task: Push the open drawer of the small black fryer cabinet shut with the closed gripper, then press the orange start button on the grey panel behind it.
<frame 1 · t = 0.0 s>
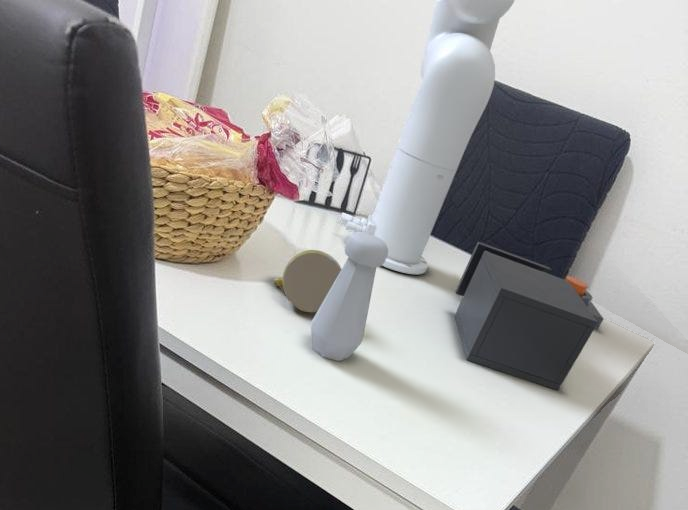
salt shaker: (329, 352, 78), on the table
start button: (574, 286, 120), point 4 cm above the table, slide at 0.1 cm
fryer: (503, 351, 96), on the table
mug: (302, 301, 87), on the table
fryer drawer: (506, 290, 102), point 5 cm above the table, slide at 7.0 cm
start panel: (561, 310, 122), on the table
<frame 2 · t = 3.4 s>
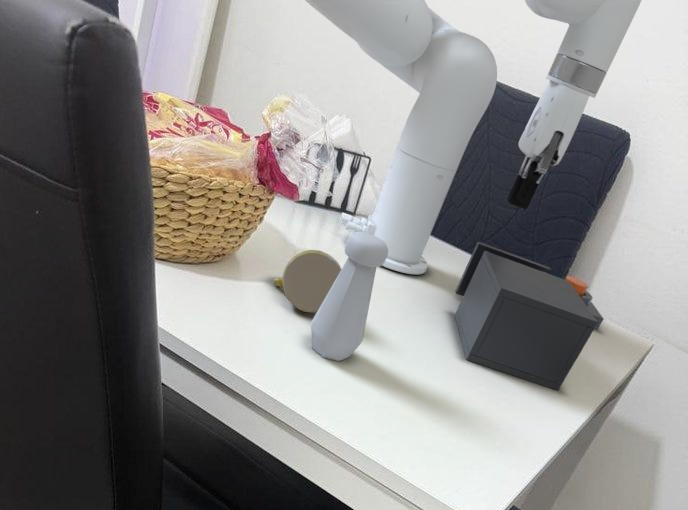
hand: (516, 204, 111), 13 cm above the table, tool pointing down, fingers closed
nothing on the table moved.
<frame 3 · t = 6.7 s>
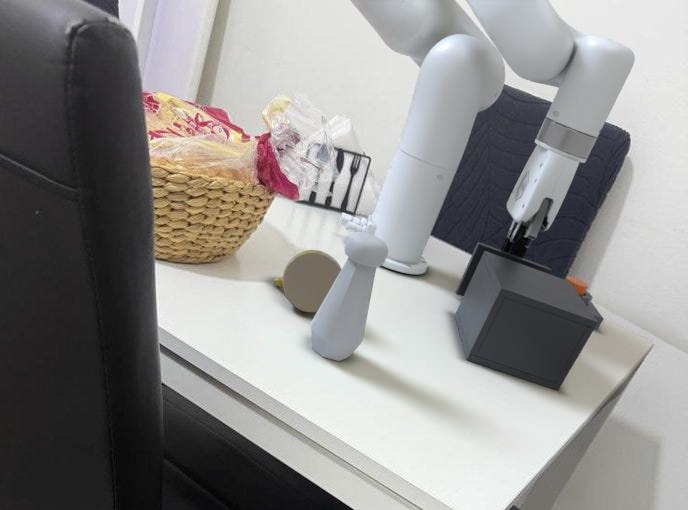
hand: (505, 267, 107), 6 cm above the table, tool pointing down, fingers closed
fryer drawer: (507, 290, 102), point 5 cm above the table, slide at 6.8 cm, touching gripper
everything else where it was.
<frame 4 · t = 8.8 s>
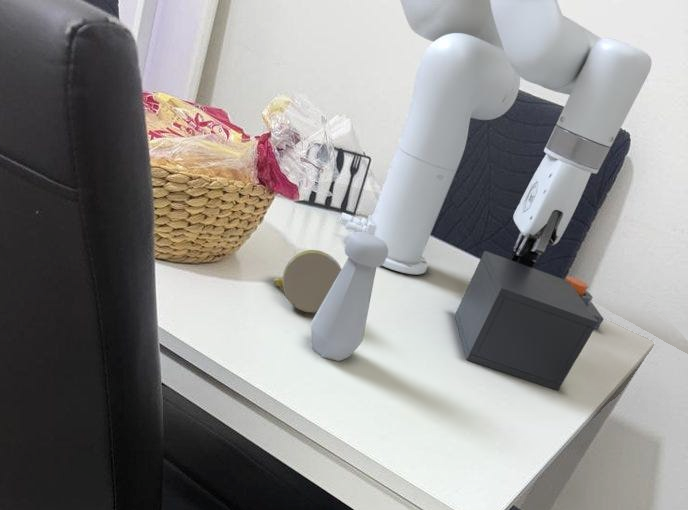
hand: (510, 282, 102), 6 cm above the table, tool pointing down, fingers closed
fryer drawer: (514, 307, 97), point 5 cm above the table, slide at 0.2 cm, touching gripper
everything else where it was.
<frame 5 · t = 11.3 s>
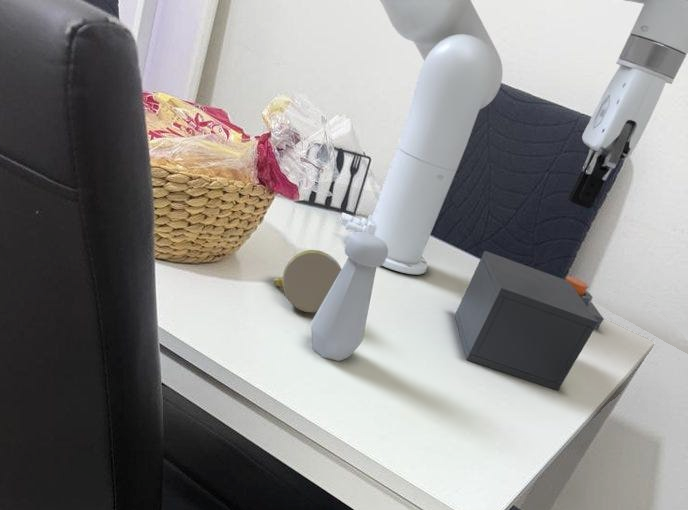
hand: (579, 204, 100), 18 cm above the table, tool pointing down, fingers closed
fryer drawer: (514, 307, 97), point 5 cm above the table, slide at 0.2 cm
everything else where it was.
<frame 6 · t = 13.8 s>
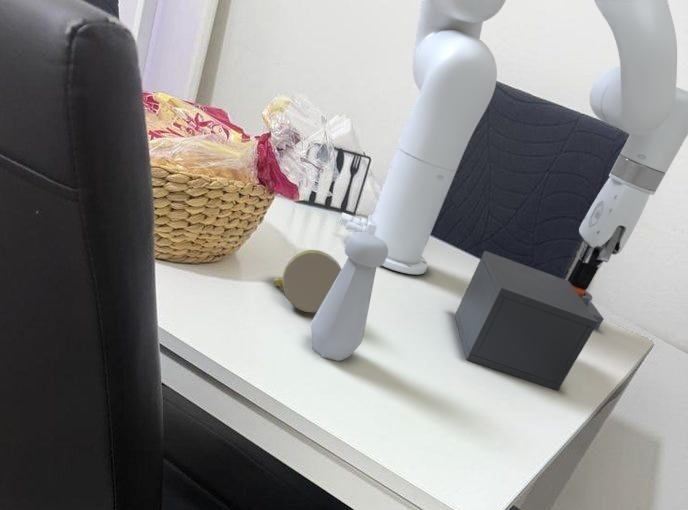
hand: (576, 285, 119), 5 cm above the table, tool pointing down, fingers closed
start button: (572, 290, 120), point 4 cm above the table, slide at -0.6 cm, touching gripper
everything else where it was.
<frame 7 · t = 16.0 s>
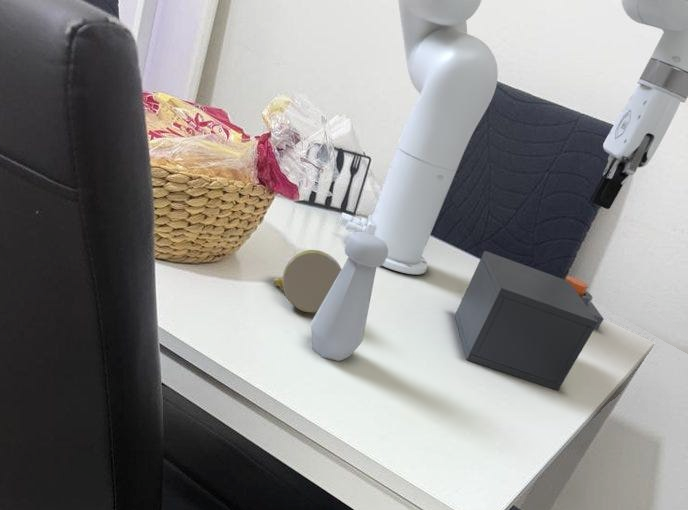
hand: (599, 204, 114), 17 cm above the table, tool pointing down, fingers closed
start button: (574, 286, 120), point 4 cm above the table, slide at 0.1 cm
everything else where it was.
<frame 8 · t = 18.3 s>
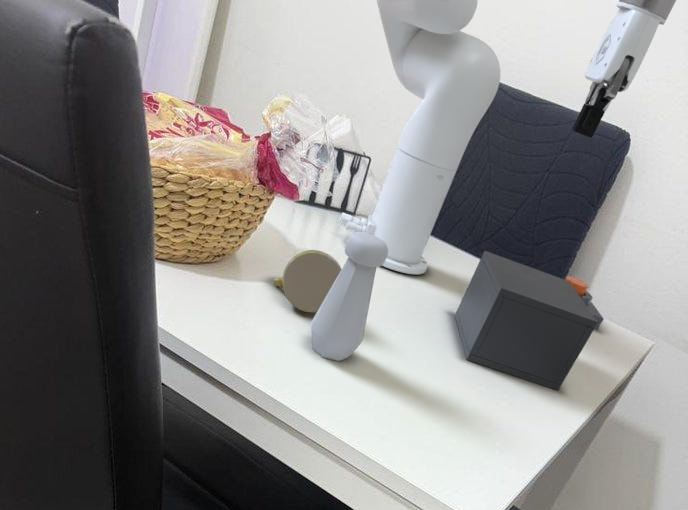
hand: (581, 133, 114), 25 cm above the table, tool pointing down, fingers closed
nothing on the table moved.
at the end: fryer drawer slide at 0.2 cm; start button pushed in 1.1 cm at the most during the clip, back to where it started at the end; start button slide at 0.1 cm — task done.
